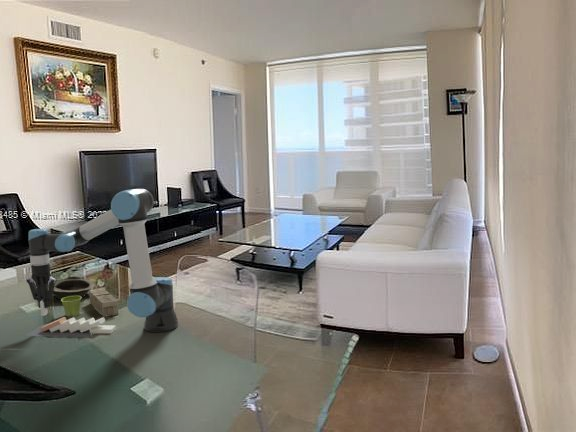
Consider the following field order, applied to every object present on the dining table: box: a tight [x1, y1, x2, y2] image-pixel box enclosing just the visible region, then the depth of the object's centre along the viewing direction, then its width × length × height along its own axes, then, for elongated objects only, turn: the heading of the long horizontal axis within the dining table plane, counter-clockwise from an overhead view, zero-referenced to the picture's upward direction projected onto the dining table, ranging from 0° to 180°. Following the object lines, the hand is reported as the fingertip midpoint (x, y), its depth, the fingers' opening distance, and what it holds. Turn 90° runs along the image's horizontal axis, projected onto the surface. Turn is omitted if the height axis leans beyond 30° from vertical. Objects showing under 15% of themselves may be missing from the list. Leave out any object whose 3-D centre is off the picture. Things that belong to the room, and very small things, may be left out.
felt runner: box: [25, 324, 94, 338], centre depth 213 cm, size 30×14×1 cm, turn 87°
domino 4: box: [69, 317, 96, 333], centre depth 212 cm, size 2×5×10 cm
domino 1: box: [40, 316, 67, 332], centre depth 213 cm, size 2×5×10 cm
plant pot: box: [60, 296, 83, 318], centre depth 234 cm, size 9×9×9 cm
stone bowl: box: [48, 276, 97, 300], centre depth 266 cm, size 25×25×9 cm
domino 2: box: [49, 316, 77, 332], centre depth 213 cm, size 2×5×10 cm
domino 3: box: [59, 317, 87, 333], centre depth 212 cm, size 2×5×10 cm
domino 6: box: [90, 324, 117, 334], centre depth 212 cm, size 2×5×10 cm
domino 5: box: [79, 316, 106, 333], centre depth 212 cm, size 2×5×10 cm
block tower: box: [88, 287, 119, 317], centre depth 243 cm, size 8×8×29 cm
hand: (44, 314), depth 212 cm, fingers closed
